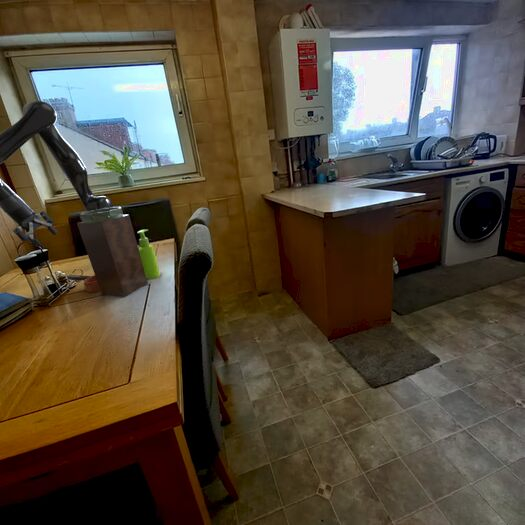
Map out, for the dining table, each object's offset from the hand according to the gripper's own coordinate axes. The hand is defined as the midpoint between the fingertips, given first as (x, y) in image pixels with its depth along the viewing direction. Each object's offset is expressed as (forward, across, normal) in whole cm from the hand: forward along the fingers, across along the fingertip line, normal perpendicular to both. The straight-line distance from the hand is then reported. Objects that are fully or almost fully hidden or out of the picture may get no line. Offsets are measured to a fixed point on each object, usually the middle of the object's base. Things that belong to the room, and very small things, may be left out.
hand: (48, 239), depth 119 cm
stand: (+23, -11, -36) cm, 44 cm away
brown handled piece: (+20, -10, -16) cm, 28 cm away
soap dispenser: (+28, +1, -38) cm, 48 cm away
